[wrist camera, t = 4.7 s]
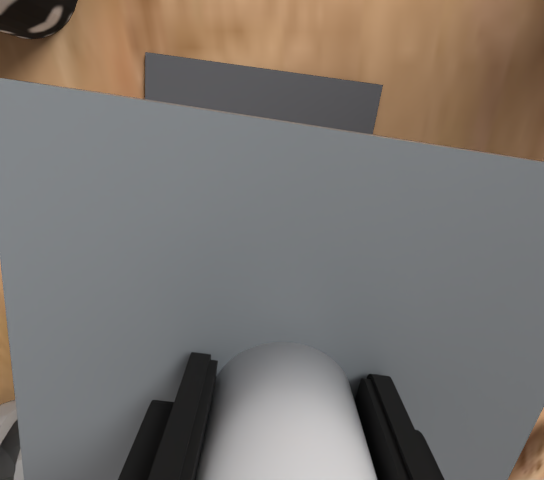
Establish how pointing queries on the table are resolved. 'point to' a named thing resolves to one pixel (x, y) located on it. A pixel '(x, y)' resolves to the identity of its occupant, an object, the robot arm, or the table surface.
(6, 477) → the jet engine
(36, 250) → the lid
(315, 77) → the rubber mat
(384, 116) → the table surface
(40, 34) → the spotted tube
